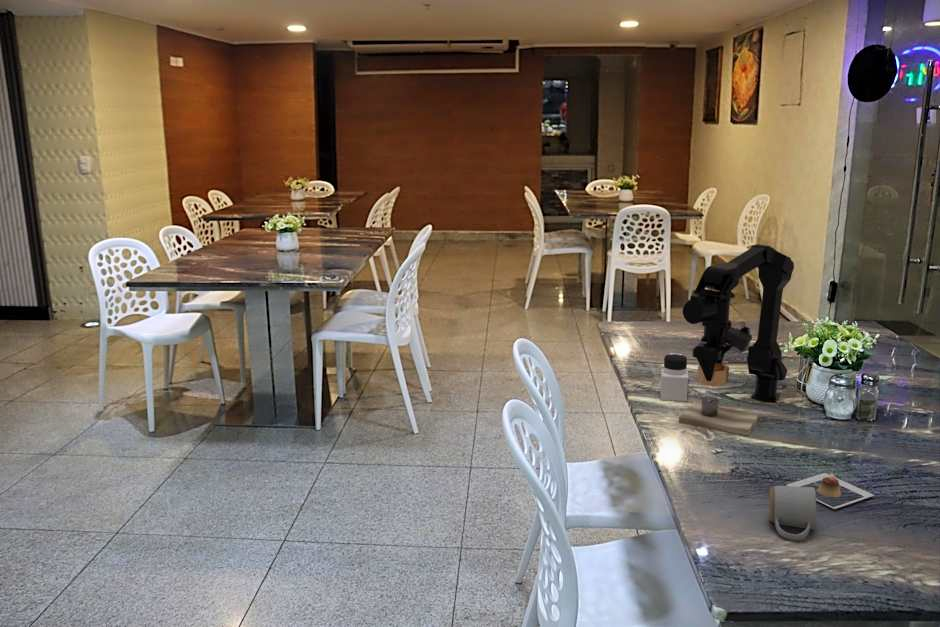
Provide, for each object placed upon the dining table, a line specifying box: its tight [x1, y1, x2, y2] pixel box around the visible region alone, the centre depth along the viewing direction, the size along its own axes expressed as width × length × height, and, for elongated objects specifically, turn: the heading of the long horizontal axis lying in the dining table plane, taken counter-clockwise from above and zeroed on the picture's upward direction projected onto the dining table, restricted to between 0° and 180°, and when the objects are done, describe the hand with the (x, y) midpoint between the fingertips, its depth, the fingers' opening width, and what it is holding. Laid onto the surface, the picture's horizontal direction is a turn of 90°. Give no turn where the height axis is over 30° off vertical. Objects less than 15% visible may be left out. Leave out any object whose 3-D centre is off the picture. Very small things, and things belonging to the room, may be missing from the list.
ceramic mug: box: [768, 485, 817, 541], centre depth 149 cm, size 11×8×8 cm
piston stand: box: [678, 402, 760, 436], centre depth 202 cm, size 12×17×2 cm
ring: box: [696, 362, 730, 387], centre depth 200 cm, size 7×7×4 cm
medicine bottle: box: [659, 353, 690, 402], centre depth 218 cm, size 7×7×12 cm
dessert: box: [785, 472, 875, 510], centre depth 163 cm, size 12×12×5 cm
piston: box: [701, 396, 719, 417], centre depth 202 cm, size 4×4×4 cm
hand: (712, 376), depth 200 cm, fingers closed on ring, 7 cm apart
